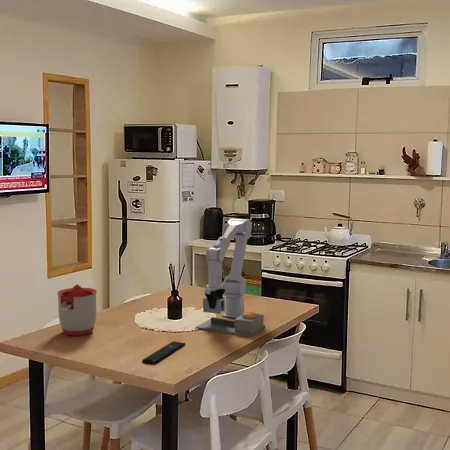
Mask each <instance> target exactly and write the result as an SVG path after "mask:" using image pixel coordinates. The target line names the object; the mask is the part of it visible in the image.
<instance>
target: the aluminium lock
mask: <svg viewBox="0 0 450 450" xmlns="http://www.w3.org/2000/svg"><path fill="white" fill-rule="evenodd" d="M202 311H203V313H210V314H211V313H212V314H219V315H220V314H221V313H222V312H226V296H223V297H217V298H216V304H215V309H210V308H209V303H208V300H207V298H206V296H204V297H203V298H202Z"/></svg>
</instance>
